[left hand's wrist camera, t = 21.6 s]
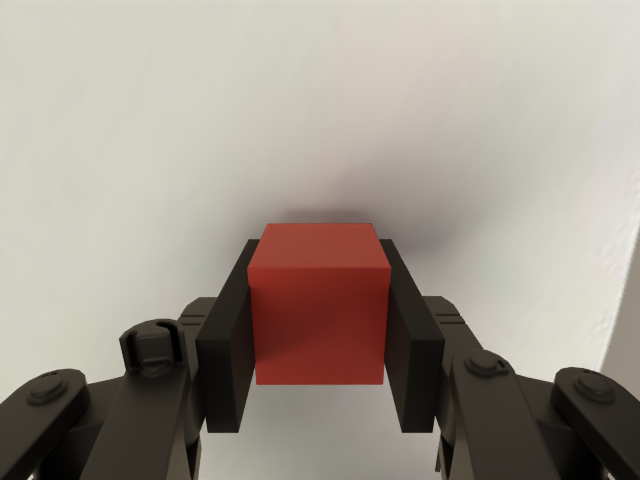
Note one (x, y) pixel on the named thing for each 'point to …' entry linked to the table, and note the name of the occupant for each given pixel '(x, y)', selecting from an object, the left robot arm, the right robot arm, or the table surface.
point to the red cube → (319, 304)
